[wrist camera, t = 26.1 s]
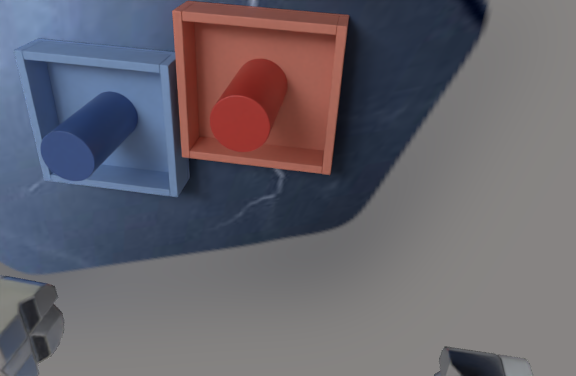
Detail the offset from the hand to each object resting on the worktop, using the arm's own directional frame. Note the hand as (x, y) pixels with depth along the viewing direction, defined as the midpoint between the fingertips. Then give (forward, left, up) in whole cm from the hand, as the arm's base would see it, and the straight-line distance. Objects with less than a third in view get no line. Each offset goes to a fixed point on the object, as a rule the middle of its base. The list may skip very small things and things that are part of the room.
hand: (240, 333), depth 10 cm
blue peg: (+15, +8, -26) cm, 31 cm away
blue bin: (+15, +8, -26) cm, 31 cm away
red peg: (+4, +4, -26) cm, 26 cm away
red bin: (+4, +4, -26) cm, 27 cm away
